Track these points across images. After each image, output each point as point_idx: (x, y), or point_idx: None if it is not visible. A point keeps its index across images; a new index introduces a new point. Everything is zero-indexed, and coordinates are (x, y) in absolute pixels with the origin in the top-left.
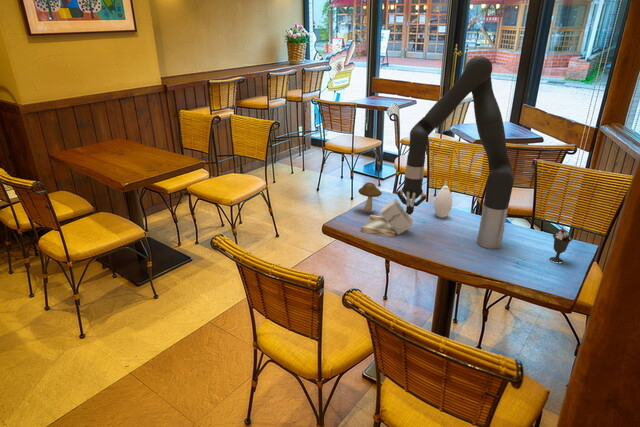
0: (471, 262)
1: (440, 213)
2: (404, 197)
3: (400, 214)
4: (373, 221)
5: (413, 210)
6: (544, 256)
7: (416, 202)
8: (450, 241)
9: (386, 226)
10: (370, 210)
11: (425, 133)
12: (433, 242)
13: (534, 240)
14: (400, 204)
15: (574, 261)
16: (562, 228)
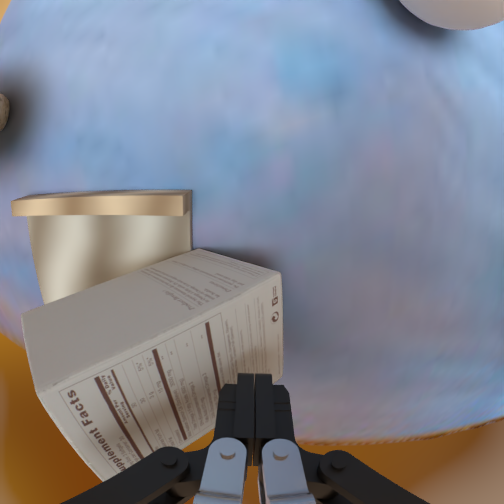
0: (468, 397)
1: (437, 23)
2: (145, 497)
3: (191, 437)
4: (47, 230)
5: (289, 401)
6: None
7: (324, 488)
8: (460, 299)
9: (121, 269)
10: (2, 120)
11: None
12: (392, 340)
13: None
14: (119, 361)
15: None
16: None
